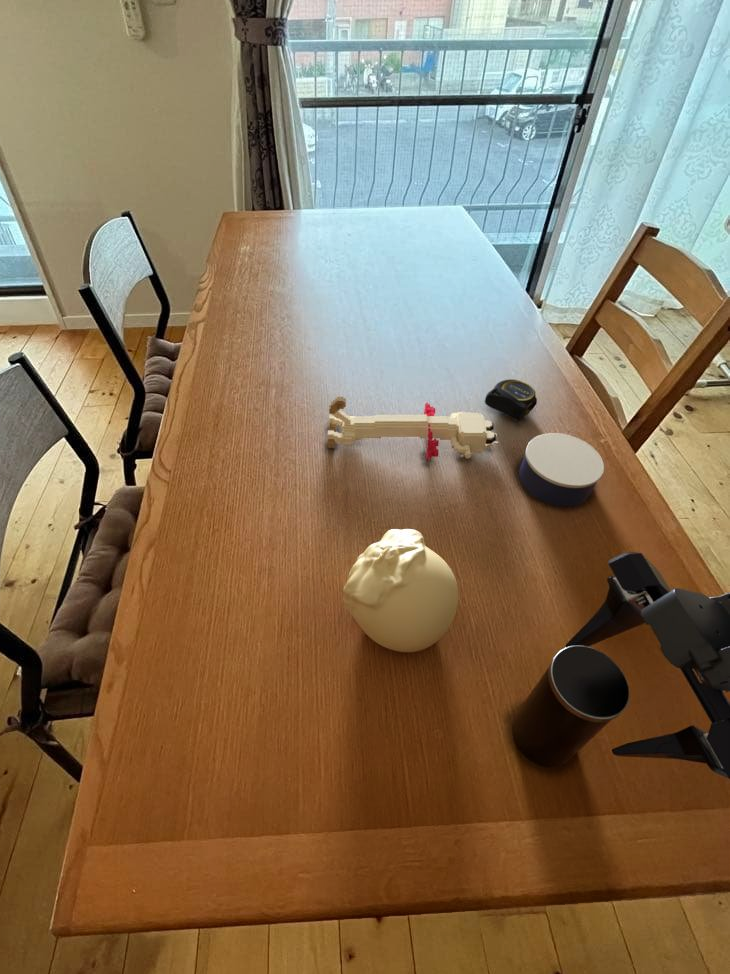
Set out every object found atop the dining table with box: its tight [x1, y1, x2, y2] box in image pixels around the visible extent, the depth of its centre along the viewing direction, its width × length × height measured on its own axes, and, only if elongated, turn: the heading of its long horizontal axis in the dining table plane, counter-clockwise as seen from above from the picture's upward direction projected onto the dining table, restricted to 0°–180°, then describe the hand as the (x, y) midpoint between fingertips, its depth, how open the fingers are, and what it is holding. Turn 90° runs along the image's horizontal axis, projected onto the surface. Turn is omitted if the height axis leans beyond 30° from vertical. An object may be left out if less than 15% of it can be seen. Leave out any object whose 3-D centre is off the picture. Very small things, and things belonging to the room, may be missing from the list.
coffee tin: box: [518, 432, 605, 508], centre depth 78 cm, size 10×10×4 cm
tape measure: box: [484, 378, 538, 423], centre depth 89 cm, size 7×7×4 cm
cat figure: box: [327, 396, 499, 461], centre depth 81 cm, size 10×9×25 cm
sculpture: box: [342, 528, 459, 653], centre depth 60 cm, size 12×12×11 cm
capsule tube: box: [511, 646, 630, 769], centre depth 50 cm, size 6×6×13 cm
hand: (589, 697), depth 49 cm, fingers open, 9 cm apart
